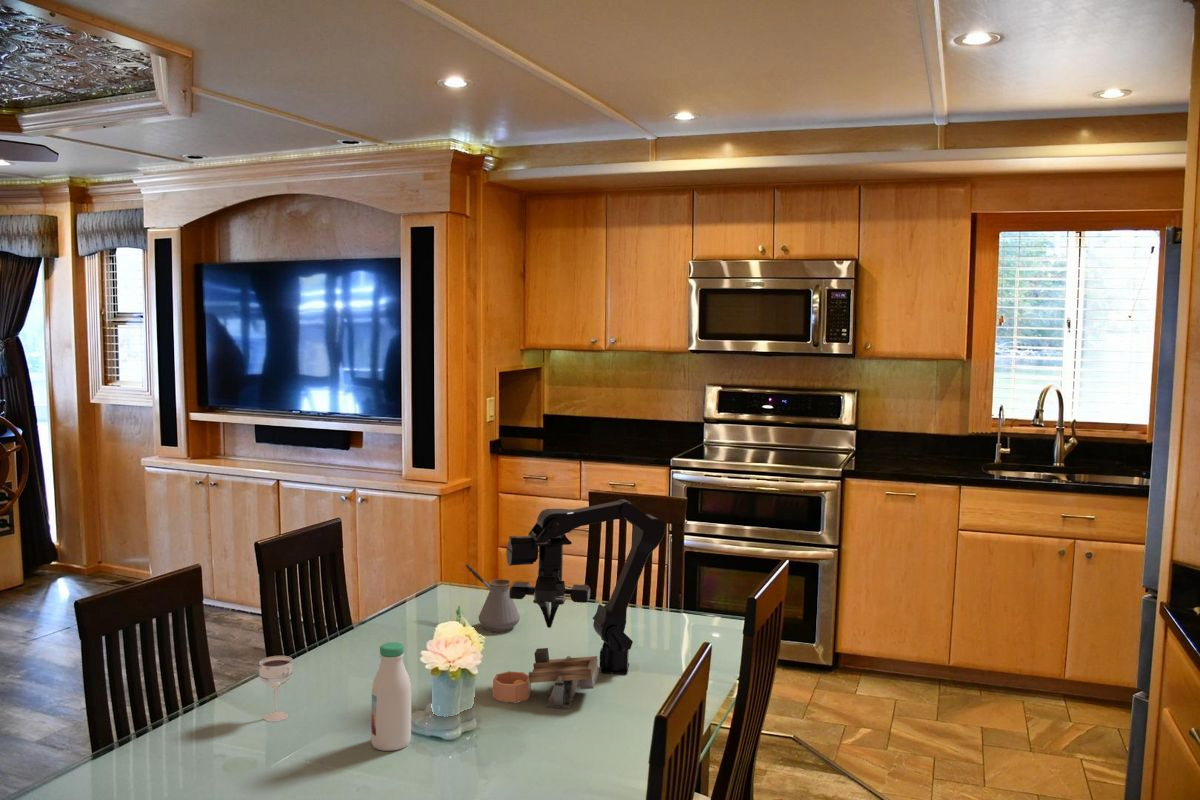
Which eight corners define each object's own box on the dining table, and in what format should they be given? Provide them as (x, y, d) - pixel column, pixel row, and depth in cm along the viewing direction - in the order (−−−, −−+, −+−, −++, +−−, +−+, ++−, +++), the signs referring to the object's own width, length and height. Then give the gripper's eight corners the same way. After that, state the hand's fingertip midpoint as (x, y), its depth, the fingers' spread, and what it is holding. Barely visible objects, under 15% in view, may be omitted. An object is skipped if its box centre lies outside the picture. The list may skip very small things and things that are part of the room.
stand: (578, 683, 216) (579, 662, 216) (569, 709, 201) (569, 686, 201) (558, 681, 217) (558, 660, 216) (547, 707, 202) (547, 684, 201)
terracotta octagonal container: (532, 689, 211) (533, 672, 211) (525, 703, 203) (526, 686, 203) (498, 687, 212) (498, 670, 212) (490, 701, 204) (490, 683, 204)
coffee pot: (528, 628, 255) (529, 575, 254) (496, 637, 247) (497, 582, 246) (480, 610, 270) (480, 560, 269) (448, 618, 262) (449, 567, 261)
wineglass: (261, 725, 189) (261, 669, 188) (256, 713, 195) (256, 658, 194) (295, 720, 192) (295, 664, 191) (290, 708, 198) (290, 653, 197)
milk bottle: (418, 738, 185) (419, 641, 183) (397, 754, 178) (398, 654, 176) (385, 732, 187) (385, 636, 186) (363, 748, 180) (363, 648, 179)
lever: (599, 668, 215) (596, 641, 214) (592, 692, 201) (588, 662, 200) (541, 672, 216) (537, 645, 216) (529, 696, 202) (526, 667, 202)
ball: (512, 679, 209) (515, 692, 209) (509, 684, 206) (512, 697, 206) (525, 676, 209) (529, 689, 209) (522, 681, 206) (526, 694, 206)
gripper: (504, 569, 211) (503, 635, 212) (585, 573, 209) (583, 640, 210) (514, 558, 222) (513, 621, 223) (591, 561, 220) (589, 625, 221)
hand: (549, 627), depth 219 cm, fingers closed
